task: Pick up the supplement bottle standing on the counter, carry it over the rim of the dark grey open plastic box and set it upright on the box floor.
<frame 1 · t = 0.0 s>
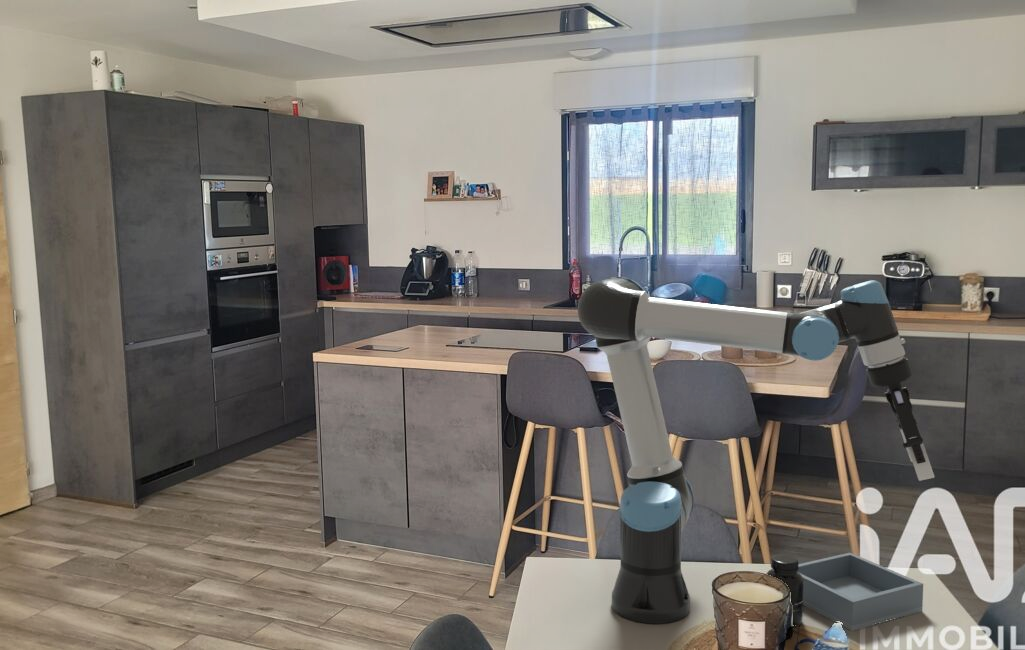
hand: (922, 469, 160), 28 cm above the table, tool tilted 20°, fingers open, 13 cm apart
supplement bottle: (783, 621, 160), on the table
open box: (850, 602, 168), on the table
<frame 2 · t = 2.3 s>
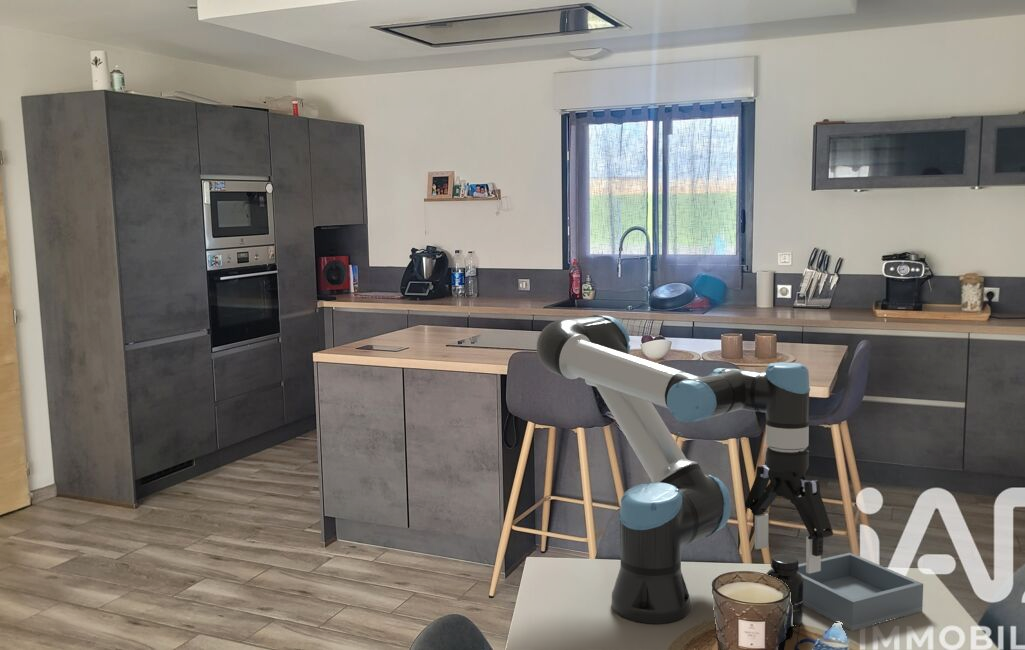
hand: (786, 559, 159), 12 cm above the table, tool pointing down, fingers open, 13 cm apart
nothing on the table moved.
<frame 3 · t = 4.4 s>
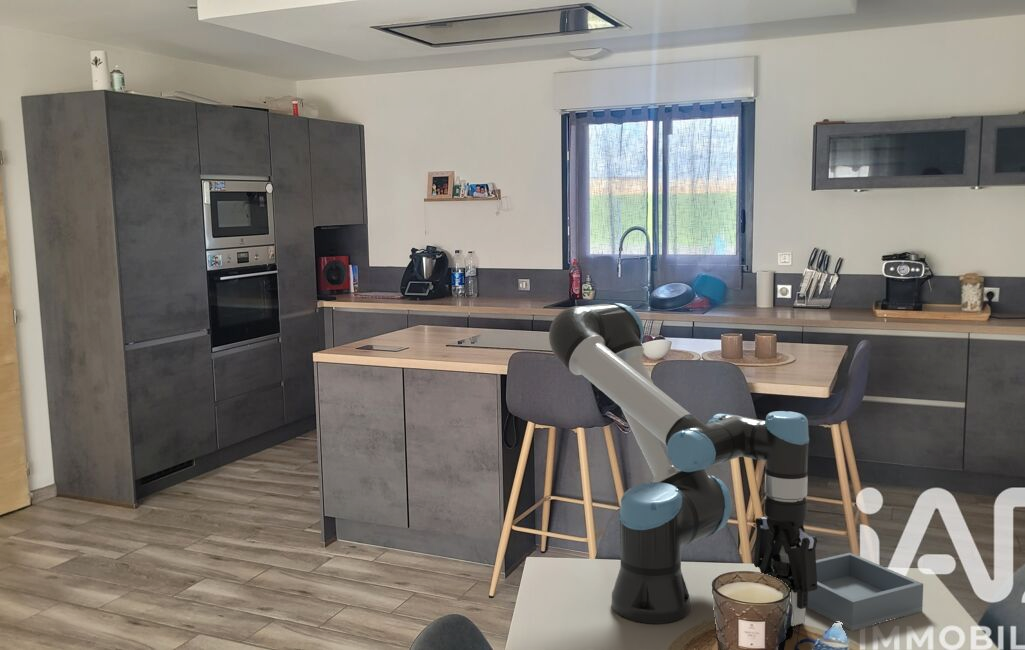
hand: (783, 614, 160), 1 cm above the table, tool pointing down, fingers closed on supplement bottle, 7 cm apart
supplement bottle: (783, 621, 161), on the table, touching gripper
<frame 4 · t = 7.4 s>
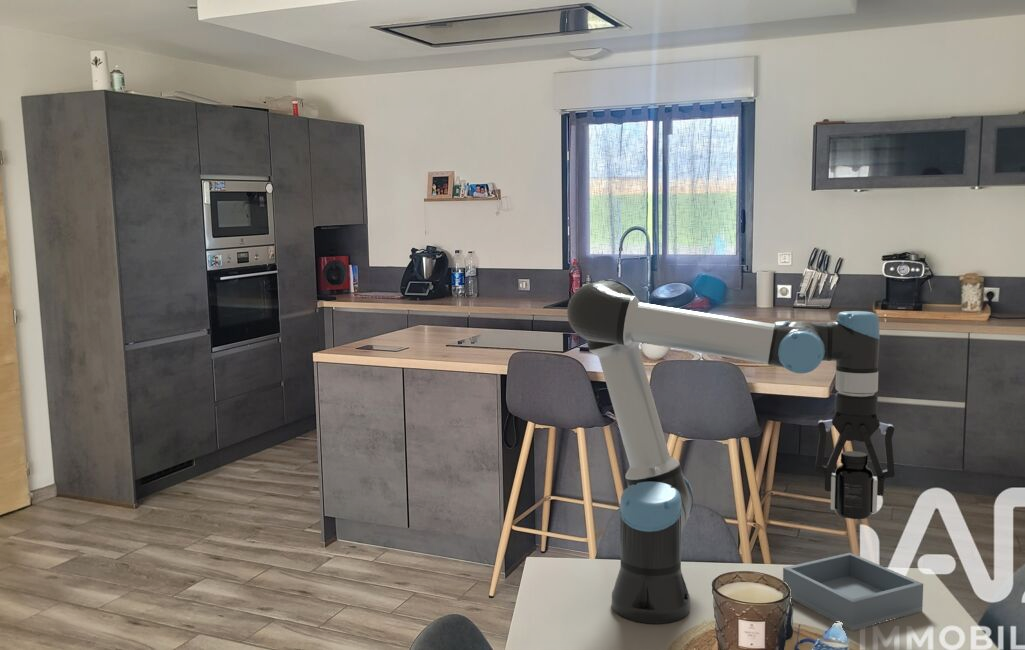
hand: (853, 509, 165), 19 cm above the table, tool pointing down, fingers closed on supplement bottle, 7 cm apart
supplement bottle: (853, 515, 166), point 18 cm above the table, touching gripper
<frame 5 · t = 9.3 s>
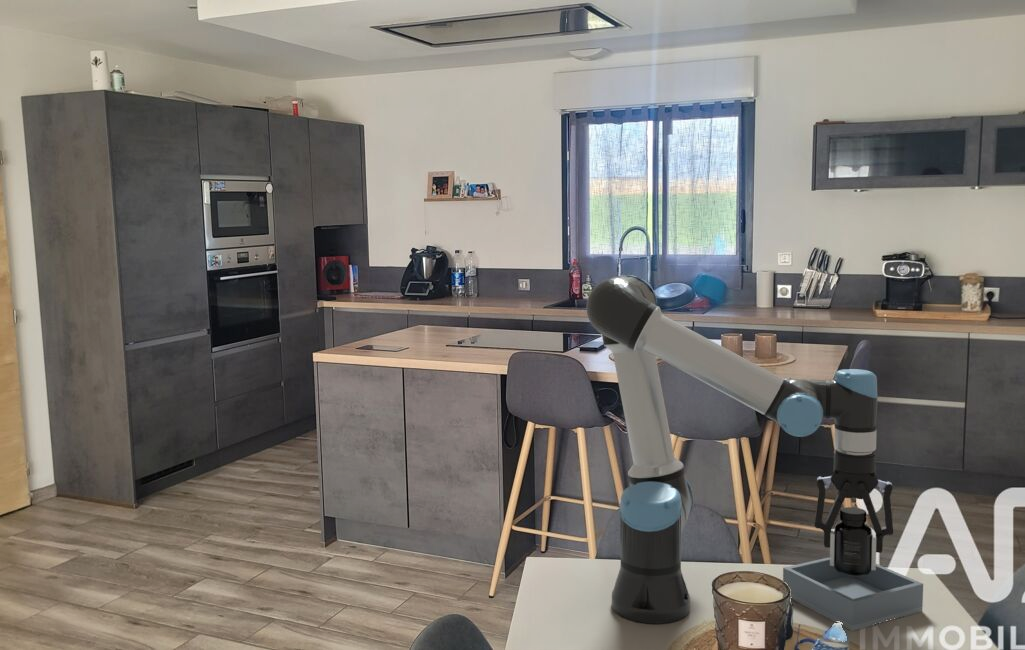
hand: (852, 565, 167), 8 cm above the table, tool pointing down, fingers closed on supplement bottle, 7 cm apart
supplement bottle: (852, 571, 167), point 6 cm above the table, touching gripper
when the fingers open (4 cm above the table, at t = 10.8 s): supplement bottle drops 2 cm, resting on open box.
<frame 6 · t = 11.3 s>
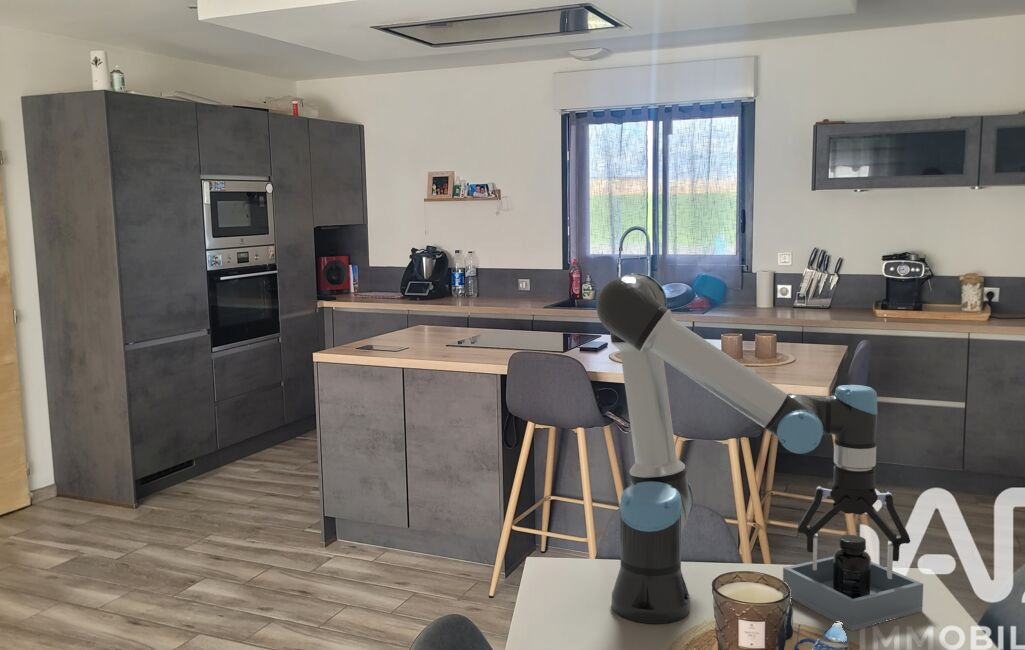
hand: (851, 572, 167), 6 cm above the table, tool pointing down, fingers open, 13 cm apart
supplement bottle: (851, 598, 167), point 1 cm above the table, touching open box
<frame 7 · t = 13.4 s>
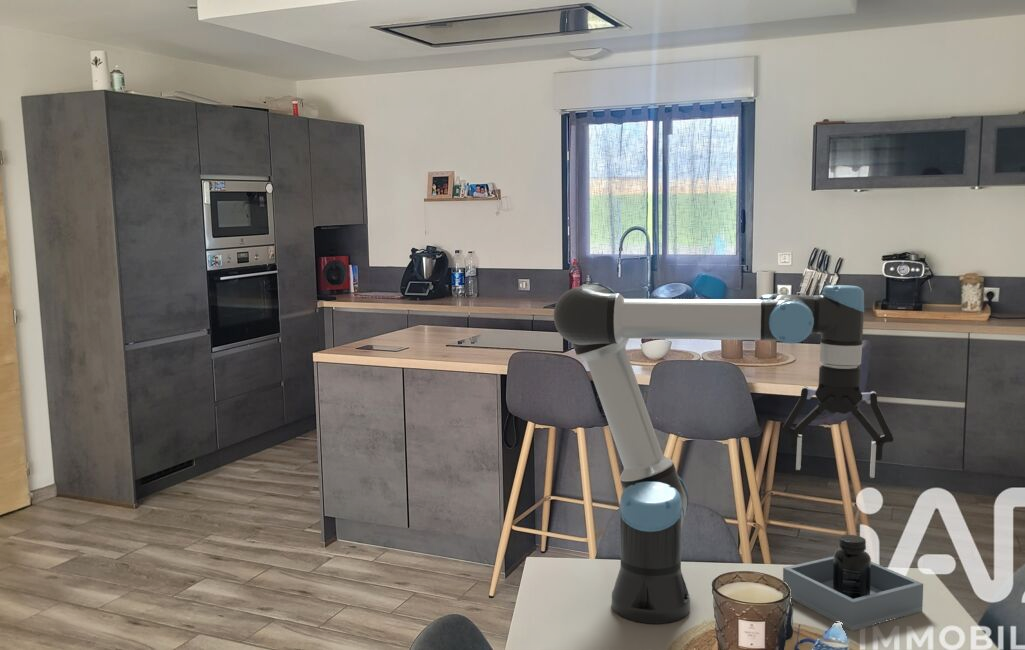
hand: (834, 472, 168), 25 cm above the table, tool pointing down, fingers open, 13 cm apart
nothing on the table moved.
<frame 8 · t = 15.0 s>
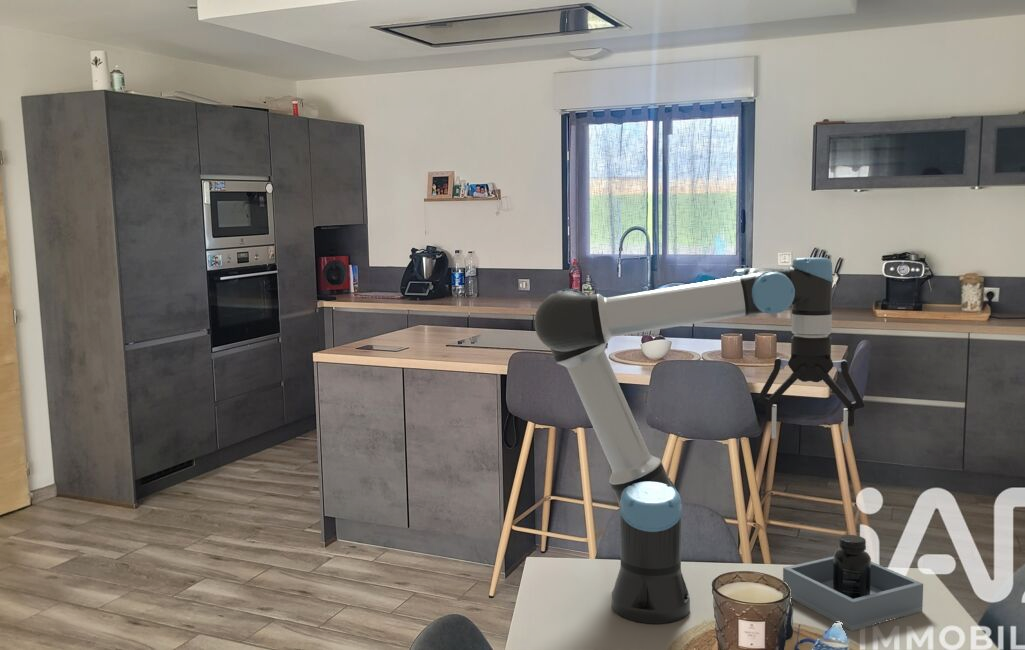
hand: (808, 439, 172), 31 cm above the table, tool pointing down, fingers open, 13 cm apart
nothing on the table moved.
at the end: supplement bottle inside the target area on the open box (0.1 cm from its centre), point 0.8 cm above the open box's base; supplement bottle tilted 0°; the gripper is holding nothing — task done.
